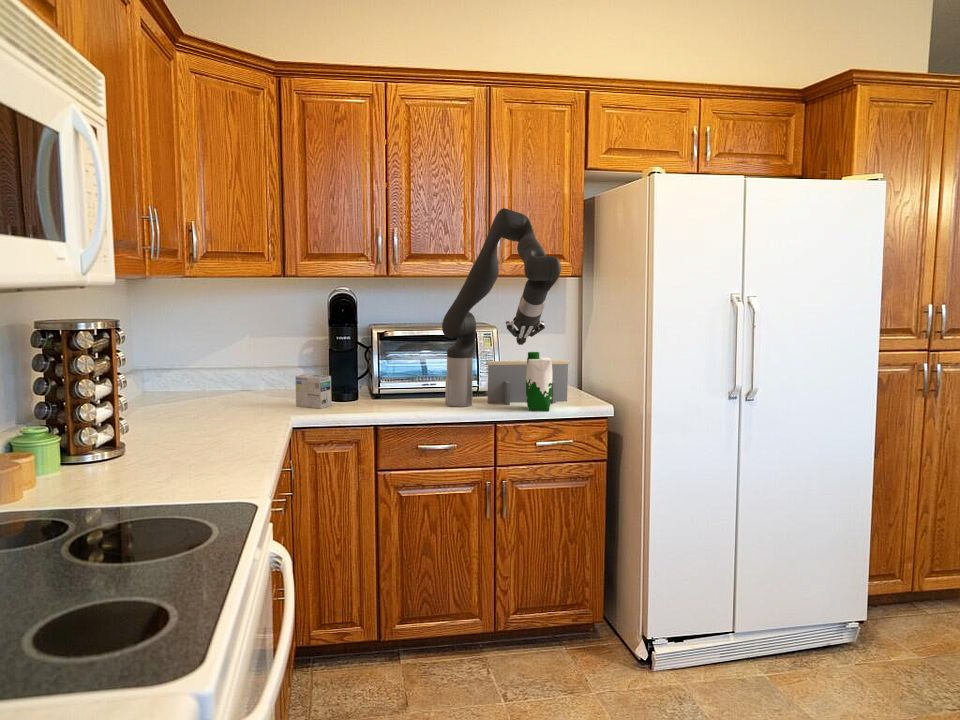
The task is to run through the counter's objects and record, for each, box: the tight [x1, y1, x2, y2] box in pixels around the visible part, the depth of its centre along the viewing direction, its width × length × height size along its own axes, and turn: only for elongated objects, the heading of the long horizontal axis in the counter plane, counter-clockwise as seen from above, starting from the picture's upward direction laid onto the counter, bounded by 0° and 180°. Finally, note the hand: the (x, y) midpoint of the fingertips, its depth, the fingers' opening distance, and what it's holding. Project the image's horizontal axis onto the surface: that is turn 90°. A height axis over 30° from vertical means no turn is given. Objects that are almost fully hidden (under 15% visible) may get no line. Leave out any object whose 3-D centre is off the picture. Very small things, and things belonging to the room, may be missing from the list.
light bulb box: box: [295, 373, 332, 410], centre depth 254 cm, size 11×7×11 cm, turn 68°
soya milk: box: [526, 351, 553, 412], centre depth 254 cm, size 9×9×20 cm
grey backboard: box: [485, 359, 570, 406], centre depth 266 cm, size 31×7×15 cm, turn 102°
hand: (520, 342), depth 236 cm, fingers closed
